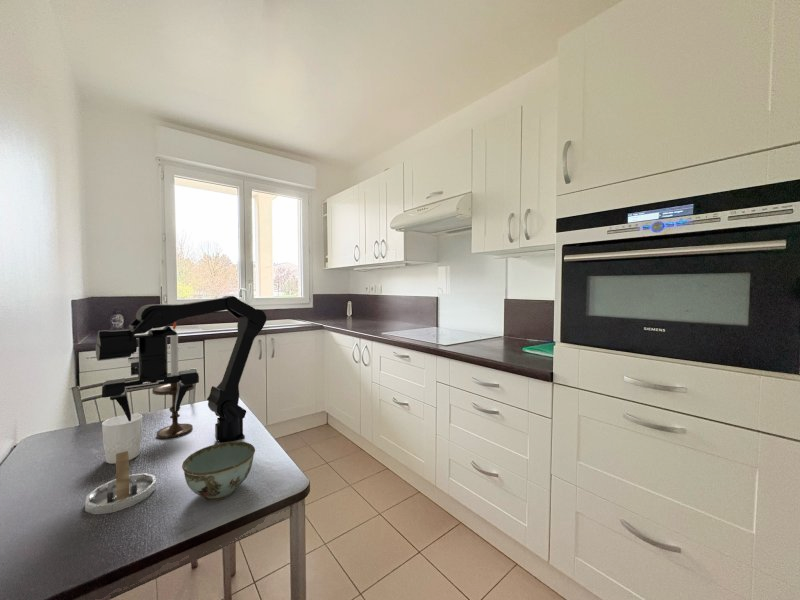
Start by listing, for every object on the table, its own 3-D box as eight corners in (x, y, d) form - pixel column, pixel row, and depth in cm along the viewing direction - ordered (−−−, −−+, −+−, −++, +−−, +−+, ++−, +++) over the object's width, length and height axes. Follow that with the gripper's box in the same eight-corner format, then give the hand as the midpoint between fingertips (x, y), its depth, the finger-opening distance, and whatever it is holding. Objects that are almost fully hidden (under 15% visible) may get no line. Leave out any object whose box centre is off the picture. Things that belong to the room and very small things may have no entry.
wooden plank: (128, 487, 69) (128, 450, 68) (129, 495, 66) (128, 458, 65) (116, 490, 67) (115, 454, 67) (116, 500, 64) (115, 461, 64)
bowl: (203, 523, 59) (202, 481, 58) (170, 498, 66) (169, 460, 66) (268, 485, 70) (267, 450, 70) (233, 467, 77) (233, 435, 77)
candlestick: (171, 424, 102) (170, 318, 102) (203, 425, 102) (203, 318, 101) (143, 440, 92) (141, 320, 91) (179, 441, 91) (178, 321, 91)
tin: (153, 474, 74) (153, 464, 74) (157, 497, 66) (157, 485, 66) (88, 494, 67) (88, 482, 67) (83, 522, 59) (83, 509, 59)
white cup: (119, 466, 78) (118, 426, 77) (94, 463, 79) (93, 424, 79) (150, 451, 85) (149, 414, 85) (126, 448, 87) (126, 412, 87)
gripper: (192, 346, 91) (192, 399, 91) (104, 354, 79) (104, 415, 79) (198, 351, 83) (199, 410, 83) (101, 361, 70) (102, 430, 71)
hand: (153, 415), depth 79 cm, fingers open, 9 cm apart
